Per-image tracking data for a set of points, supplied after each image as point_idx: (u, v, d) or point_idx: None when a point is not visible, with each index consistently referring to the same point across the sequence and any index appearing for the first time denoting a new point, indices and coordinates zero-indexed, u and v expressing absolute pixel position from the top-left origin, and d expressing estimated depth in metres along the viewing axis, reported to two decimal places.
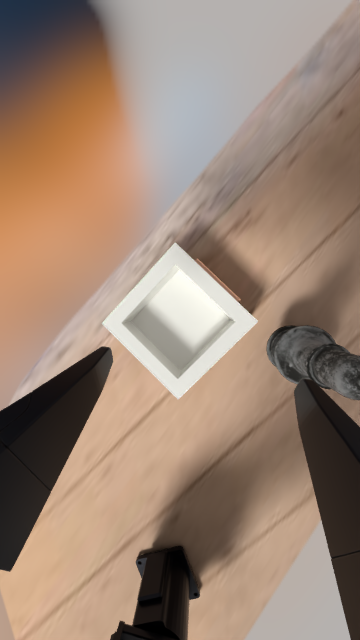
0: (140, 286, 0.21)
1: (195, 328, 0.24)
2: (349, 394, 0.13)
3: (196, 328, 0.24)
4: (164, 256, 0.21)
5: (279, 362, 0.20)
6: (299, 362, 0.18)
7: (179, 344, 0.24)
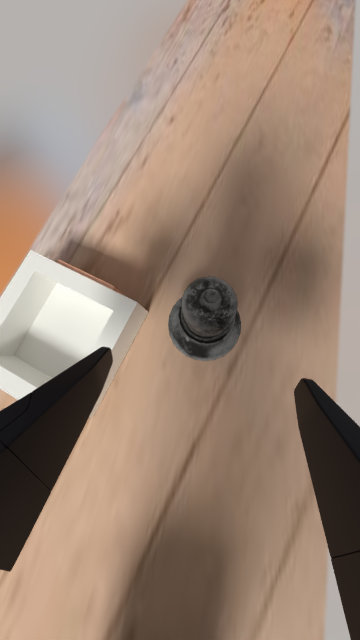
0: (0, 305, 0.18)
1: (88, 339, 0.20)
2: (201, 324, 0.10)
3: (89, 338, 0.20)
4: (21, 267, 0.19)
5: (177, 341, 0.17)
6: None
7: (74, 363, 0.20)
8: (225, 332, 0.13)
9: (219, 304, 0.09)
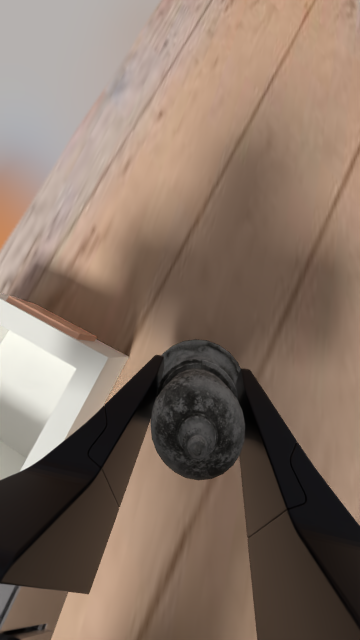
0: None
1: (52, 394, 0.16)
2: (182, 473, 0.05)
3: (53, 393, 0.16)
4: None
5: None
6: None
7: (33, 426, 0.16)
8: None
9: (213, 445, 0.05)
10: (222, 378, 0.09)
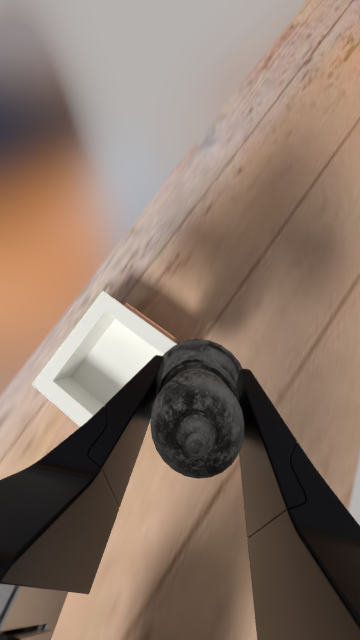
0: (71, 338, 0.20)
1: None
2: (181, 471, 0.06)
3: None
4: (93, 305, 0.21)
5: None
6: None
7: None
8: None
9: (212, 444, 0.05)
10: (223, 378, 0.09)
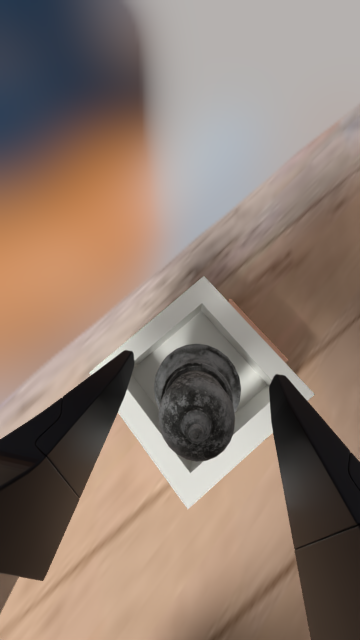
0: (151, 326, 0.16)
1: None
2: (183, 455, 0.07)
3: None
4: (188, 291, 0.16)
5: None
6: None
7: None
8: None
9: (209, 433, 0.07)
10: (219, 380, 0.10)
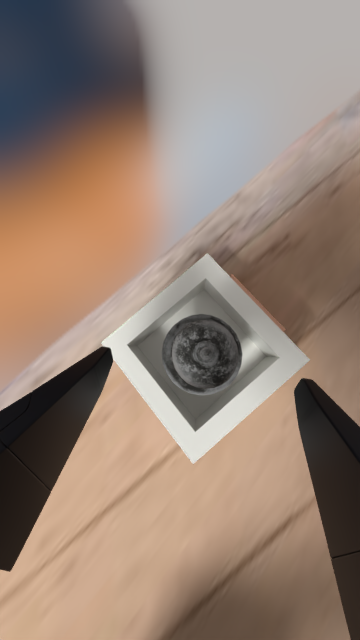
0: (158, 300, 0.17)
1: None
2: (194, 381, 0.08)
3: None
4: (192, 267, 0.17)
5: (171, 372, 0.15)
6: None
7: None
8: None
9: (216, 359, 0.08)
10: None
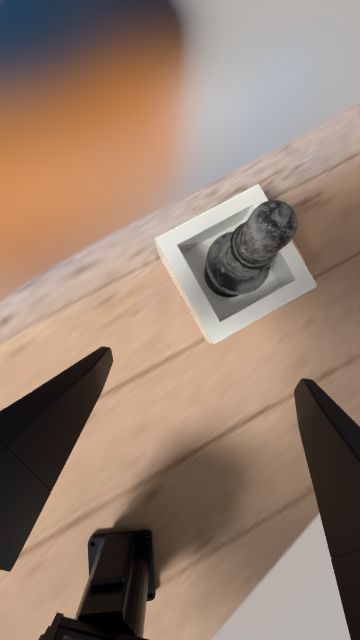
0: (210, 214, 0.20)
1: None
2: (266, 237, 0.12)
3: None
4: (243, 193, 0.20)
5: (212, 271, 0.19)
6: (228, 258, 0.17)
7: None
8: (267, 262, 0.15)
9: (286, 222, 0.11)
10: None
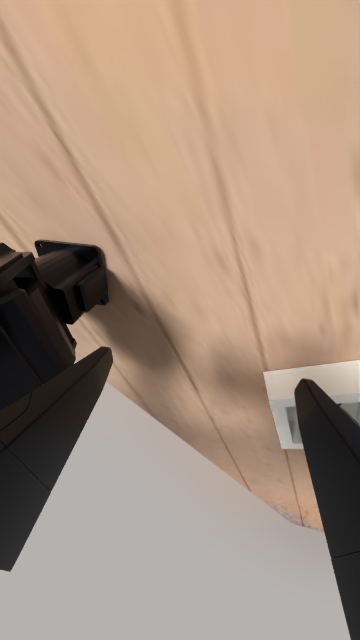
0: None
1: None
2: None
3: None
4: None
5: None
6: None
7: None
8: None
9: None
10: None
